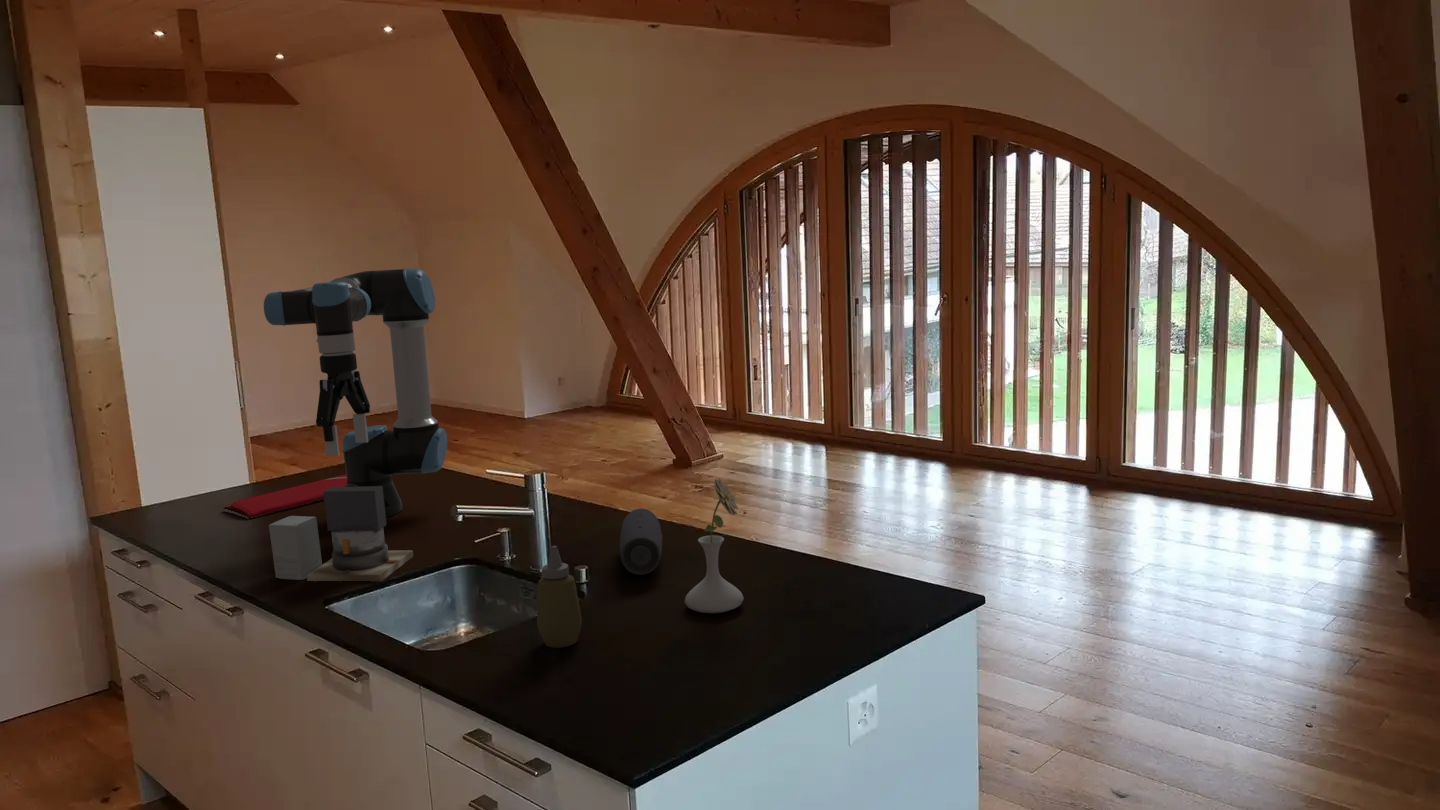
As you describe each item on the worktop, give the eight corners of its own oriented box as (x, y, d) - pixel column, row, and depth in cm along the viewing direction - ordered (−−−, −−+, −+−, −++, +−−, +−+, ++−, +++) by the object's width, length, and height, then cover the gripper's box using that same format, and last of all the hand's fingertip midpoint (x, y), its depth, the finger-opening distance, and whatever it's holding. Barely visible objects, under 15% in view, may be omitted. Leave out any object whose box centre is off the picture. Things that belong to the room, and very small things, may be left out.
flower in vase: (724, 622, 198) (717, 492, 194) (673, 613, 204) (666, 486, 200) (759, 599, 209) (753, 476, 205) (710, 591, 215) (703, 470, 211)
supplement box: (324, 570, 241) (317, 516, 239) (301, 581, 234) (294, 525, 232) (297, 568, 244) (290, 514, 241) (274, 578, 237) (267, 524, 234)
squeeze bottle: (540, 635, 196) (532, 541, 193) (584, 632, 197) (577, 538, 194) (536, 653, 188) (528, 555, 185) (582, 649, 189) (575, 552, 186)
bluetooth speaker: (664, 579, 224) (662, 533, 222) (620, 582, 223) (617, 536, 222) (662, 546, 246) (660, 504, 245) (622, 549, 246) (619, 507, 244)
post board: (344, 556, 250) (342, 538, 249) (413, 556, 248) (411, 537, 247) (307, 581, 234) (305, 562, 233) (381, 581, 231) (378, 561, 230)
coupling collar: (346, 541, 246) (339, 483, 244) (395, 541, 244) (389, 482, 242) (320, 558, 235) (313, 496, 232) (372, 558, 233) (365, 495, 230)
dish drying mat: (222, 513, 298) (221, 500, 297) (355, 481, 328) (354, 469, 327) (249, 521, 287) (247, 508, 287) (383, 488, 318) (382, 475, 317)
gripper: (348, 347, 245) (358, 437, 248) (291, 361, 220) (303, 461, 224) (379, 345, 244) (388, 436, 247) (325, 360, 219) (336, 461, 223)
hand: (347, 449), depth 236 cm, fingers open, 13 cm apart
